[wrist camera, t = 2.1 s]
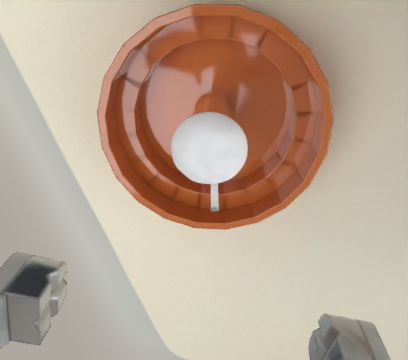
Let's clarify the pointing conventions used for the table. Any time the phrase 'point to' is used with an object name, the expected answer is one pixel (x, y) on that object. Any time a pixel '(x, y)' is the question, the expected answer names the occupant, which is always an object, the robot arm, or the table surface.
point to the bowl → (236, 92)
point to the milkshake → (210, 143)
